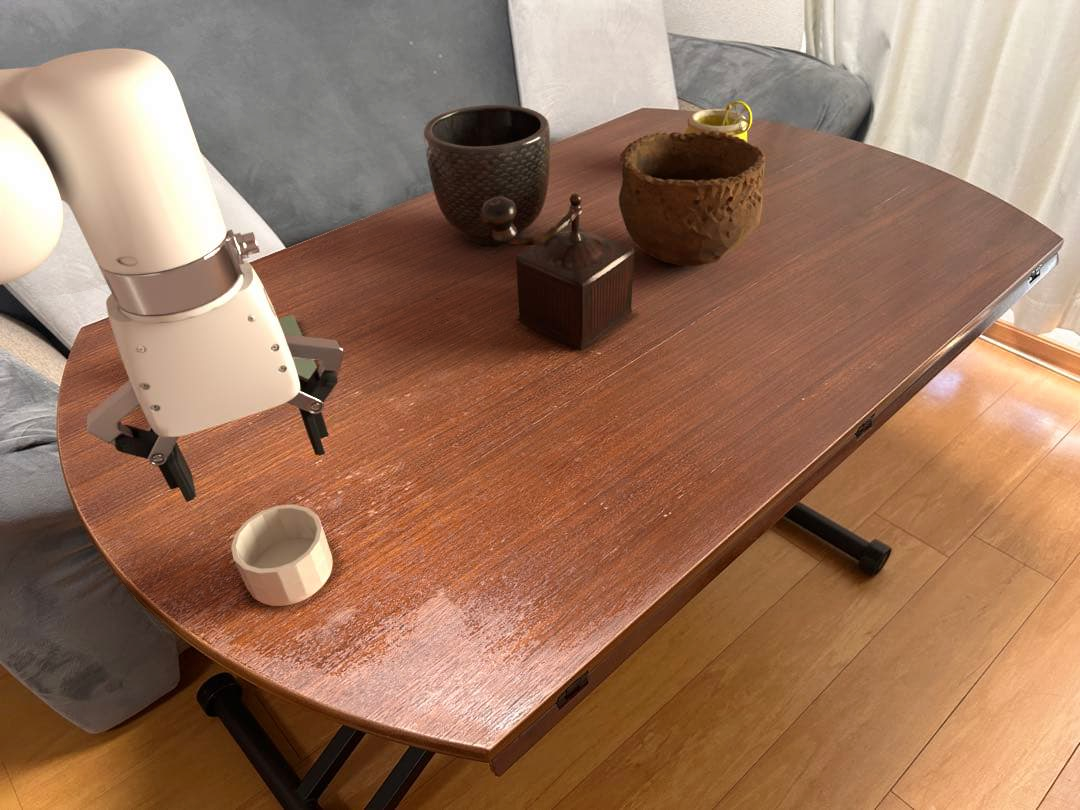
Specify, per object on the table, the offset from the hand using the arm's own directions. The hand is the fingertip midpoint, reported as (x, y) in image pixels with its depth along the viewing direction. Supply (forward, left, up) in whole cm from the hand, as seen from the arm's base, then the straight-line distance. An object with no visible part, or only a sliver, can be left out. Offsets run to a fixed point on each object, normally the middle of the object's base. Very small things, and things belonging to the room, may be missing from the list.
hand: (254, 465), depth 58 cm
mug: (+83, +52, -13) cm, 98 cm away
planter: (+41, +49, -13) cm, 65 cm away
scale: (+1, +32, -13) cm, 34 cm away
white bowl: (0, 0, -13) cm, 13 cm away
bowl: (+61, +29, -13) cm, 68 cm away
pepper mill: (+38, +22, -13) cm, 45 cm away
